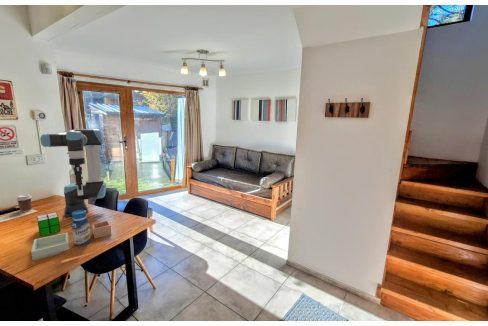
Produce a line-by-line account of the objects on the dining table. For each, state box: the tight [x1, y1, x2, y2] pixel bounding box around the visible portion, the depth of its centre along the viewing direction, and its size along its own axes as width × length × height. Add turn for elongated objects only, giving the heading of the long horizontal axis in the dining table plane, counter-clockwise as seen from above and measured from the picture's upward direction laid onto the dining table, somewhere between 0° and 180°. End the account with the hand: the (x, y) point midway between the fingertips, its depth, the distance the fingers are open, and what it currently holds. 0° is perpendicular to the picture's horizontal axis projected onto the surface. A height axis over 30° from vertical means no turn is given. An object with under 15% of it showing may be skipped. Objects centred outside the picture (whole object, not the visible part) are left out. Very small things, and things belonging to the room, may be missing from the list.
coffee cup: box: [15, 193, 33, 213], centre depth 180 cm, size 9×9×12 cm
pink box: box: [91, 219, 112, 239], centre depth 146 cm, size 9×9×7 cm
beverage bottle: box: [71, 210, 92, 247], centre depth 133 cm, size 8×8×20 cm
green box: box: [31, 232, 70, 261], centre depth 129 cm, size 15×15×5 cm
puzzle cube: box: [36, 212, 61, 237], centre depth 149 cm, size 10×10×10 cm
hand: (80, 192), depth 141 cm, fingers open, 13 cm apart
